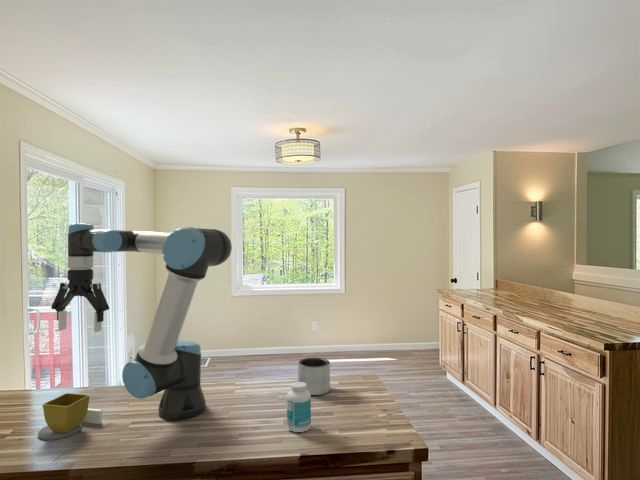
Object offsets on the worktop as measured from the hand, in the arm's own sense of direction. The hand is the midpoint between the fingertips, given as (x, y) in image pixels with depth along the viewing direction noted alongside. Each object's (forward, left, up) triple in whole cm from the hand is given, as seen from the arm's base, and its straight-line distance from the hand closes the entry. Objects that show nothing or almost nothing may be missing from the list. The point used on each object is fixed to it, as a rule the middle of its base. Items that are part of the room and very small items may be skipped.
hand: (79, 330), depth 134 cm
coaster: (-7, +15, -27) cm, 31 cm away
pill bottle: (-77, -2, -27) cm, 82 cm away
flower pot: (-9, +15, -26) cm, 31 cm away
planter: (-75, -33, -27) cm, 87 cm away
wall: (-8, +8, -27) cm, 29 cm away
